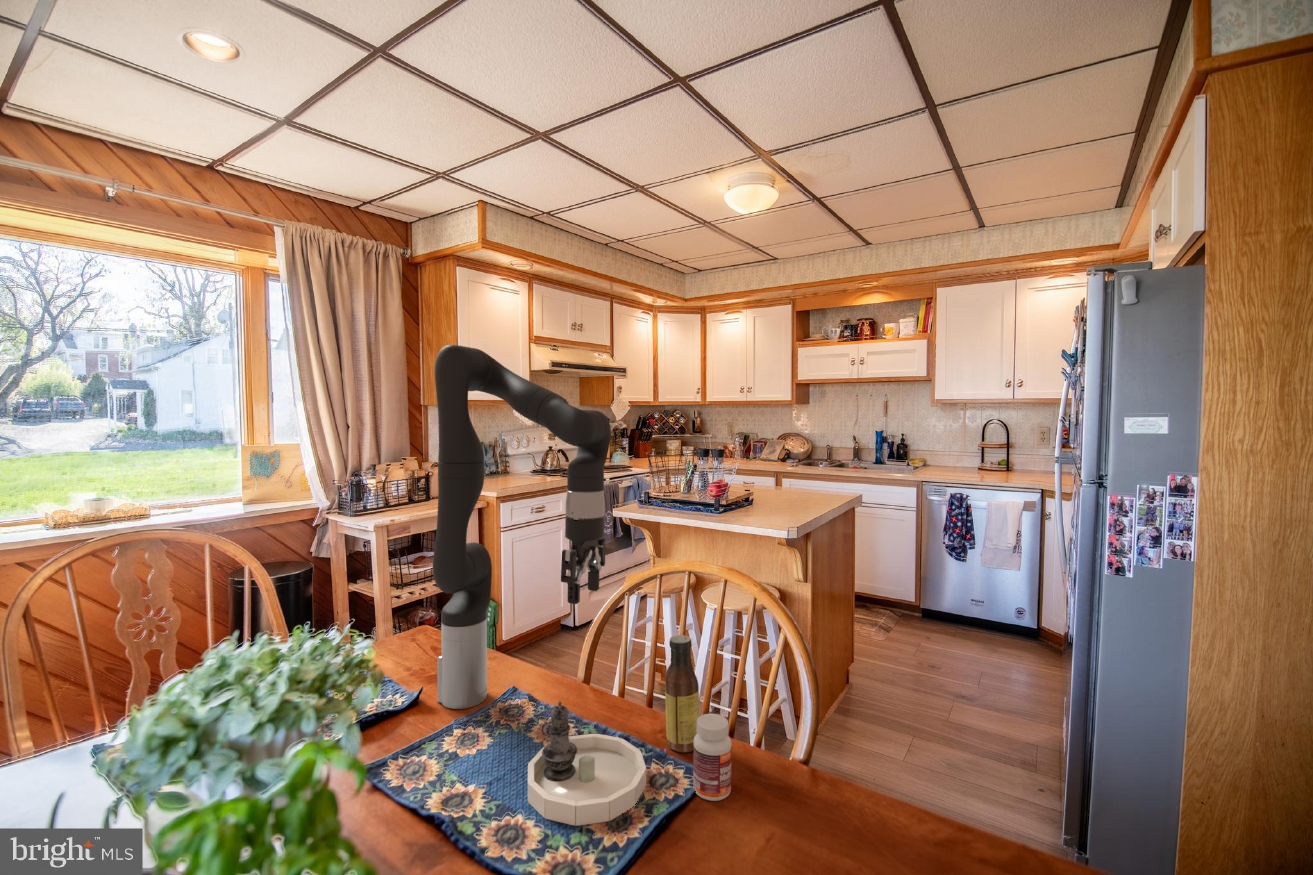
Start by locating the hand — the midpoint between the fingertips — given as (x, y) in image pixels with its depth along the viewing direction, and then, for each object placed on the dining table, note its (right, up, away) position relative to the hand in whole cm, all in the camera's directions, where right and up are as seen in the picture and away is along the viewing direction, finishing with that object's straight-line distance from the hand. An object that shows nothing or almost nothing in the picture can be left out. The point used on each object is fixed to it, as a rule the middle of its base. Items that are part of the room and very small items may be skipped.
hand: (583, 596), depth 111 cm
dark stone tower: (-2, -26, -15) cm, 30 cm away
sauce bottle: (+19, -26, -5) cm, 33 cm away
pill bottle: (+23, -27, -18) cm, 40 cm away
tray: (+3, -26, -16) cm, 31 cm away
